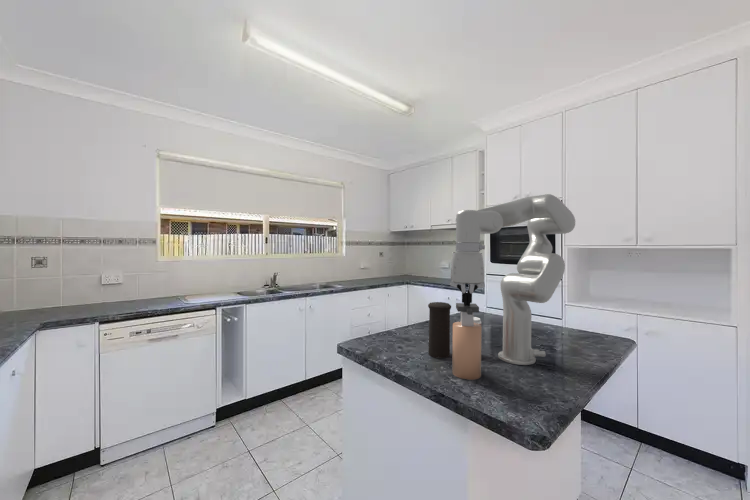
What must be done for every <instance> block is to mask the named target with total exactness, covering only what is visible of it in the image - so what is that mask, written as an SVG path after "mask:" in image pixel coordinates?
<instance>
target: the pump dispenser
mask: <svg viewBox="0 0 750 500" xmlns="http://www.w3.org/2000/svg"><path fill="white" fill-rule="evenodd" d="M474 313H475V312H473V315H468V314H467V313H466V312H460V321H456V322H453V323H452V357H451V358H452V359H451V360H452V361H451V362H452V365H451V367H452V368H451V371H452V372H451V373H452V375H453V376H455V377H456V378H459V379H462V380H468V381H471V380H472V381H473V380H478V379H480V378H481V377H482V328H483V327H482V324H481V325H480V324H477V323H474V317H475V314H474Z"/></svg>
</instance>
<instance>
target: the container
mask: <svg viewBox="0 0 750 500" xmlns="http://www.w3.org/2000/svg"><path fill="white" fill-rule="evenodd" d="M427 307H428V309H429V313H428V314H429V315H428V316H429V317H428V319H429V320H428V352H427V353H428V355H429V356H430V357H432V358H437V359H446V358H449V357H451V356H450V355H451V349H450V348H451V344H450V343H451V339H450V337H451V335H450V333H451V322H450V321H451V310H452V305H451V304H450V303H448V302H443V301H437V302H436V301H433V302H429V303H428V305H427Z"/></svg>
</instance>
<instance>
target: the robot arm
mask: <svg viewBox="0 0 750 500" xmlns="http://www.w3.org/2000/svg"><path fill="white" fill-rule="evenodd" d="M455 221H456V222H455V226H456V227H455V252H453V253H452V257H451V265H450V266H451V267H450V283H449V285H450V286H451V287H453V288H457V289H458V290H459V291H460V292H461V303H464V305H465V306H466V305H468V306H470V303H472V304H473V293H474V292H475V291H476V290H477V289H481V288H485V287H486V286H485V264H484V257H483V253H482V252H481V251H482V250H485V248H486V245H482V244H481V235H484V234H485V235H486V234H487V235H488V234H489V235H490V234H495V233H498V232H499V231H500V230H501V229H502V228H507V227H511V226H512V227H513V226H516V225H519V224H521V223H524V222H527V223H526V224H527V225H526V226H527V231H528V237H529V243H528V245H527V247H526V248H525V250H524V252H523V253H522V255H521V257H520V259H519V260H518V262H517V264H516V270H517V273H516V272H515V273H514V272H512V273H508V274H506V275H504V276H503V277H502V278H501V280H500V291H501V292H500V293H501V297H502V306H503V309H502V310H503V313H502V350H501V351H499V352H498V353H497V355H498V359H500V360H501V361H503V362H506V363H508V364H512V365H518V366H519V365H520V366H528V365H529V366H531V365H534V364H535V363H536V360H537V357H543V358H545V357H546V351H545V350H540V349H534V348H532V310H531V307H530V305H529V302H531V303H536V304H545V303H547V302H548V301H550V299H551V298H552V297H553V294H554V293H555V292H556V290H557V288H558V286H559V285H560V282H561V281H562V279H563V276H564V275H565V271H566V264H565V263H566V262H565V260H564V258H563V257H562V256H561V255H560V254H557V253H553V245H552V243H551V241H550V240H549V239H548V237H547V236H546V235H565V234H569V233H571V232H572V231H574V229H575V226H576V219H575V215H574V214H573V212H572V211H571V210H570V209H569V208H568V206H566V204H564V202H563V201H562V200H560V198H558V197H557V196H555V195H553V194H551V193H548V194H547V193H546V194H540V195H532V196H530V195H529V196H524V197H522V198H520V199H515V200H511V201H508V202H504V203H500V204H497V205H494V206H490V207H486V208H481V209H477V210H476V209H463V210H459V211H457V213H456V218H455ZM467 284H468V290H466V285H467Z"/></svg>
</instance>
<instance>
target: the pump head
mask: <svg viewBox="0 0 750 500" xmlns="http://www.w3.org/2000/svg"><path fill="white" fill-rule="evenodd" d="M455 309H456V311H457V312H458V313H461V312H466V313H467V314H468V315H473V312H474V313H480V307H479V306H478V304H477V303H473V302H472V303H470V306H468V305H466V306H465V305H464V303H462V302H455Z"/></svg>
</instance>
